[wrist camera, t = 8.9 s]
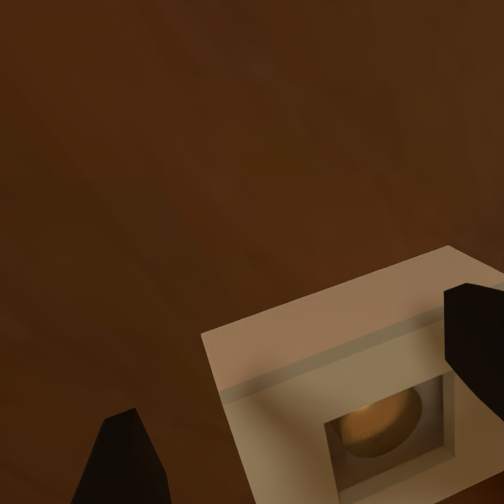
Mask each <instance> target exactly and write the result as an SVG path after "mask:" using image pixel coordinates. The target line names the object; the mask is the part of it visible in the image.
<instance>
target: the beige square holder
mask: <svg viewBox="0 0 504 504" xmlns="http://www.w3.org/2000/svg"><path fill="white" fill-rule="evenodd" d="M464 283H471V284H476V285H481V286H485V287H489V288H494V289H498V290H502V291H504V274H503V273H501V272H499V271H497V270H495V269H493V268H491V267H490V266H488V265H486V264H484V263H482V262H480V261H478V260H476V259H474V258H472V257H470V256H468V255H466V254H464V253H462V252H460V251H458V250H456V249H454V248H452V247H450V246H445V247H442V248H439V249H437V250H434V251H431V252H428V253H425V254H423V255H420V256H417V257H414V258H411V259H409V260H406V261H403V262H400V263H397V264H395V265H392V266H389V267H386V268H383V269H381V270H378V271H375V272H372V273H369V274H367V275H364V276H361V277H358V278H355V279H353V280H350V281H347V282H344V283H341V284H339V285H336V286H333V287H330V288H327V289H325V290H322V291H319V292H316V293H313V294H311V295H308V296H305V297H302V298H299V299H297V300H294V301H291V302H288V303H286V304H283V305H280V306H277V307H274V308H272V309H269V310H266V311H263V312H260V313H258V314H255V315H252V316H249V317H246V318H244V319H241V320H238V321H235V322H232V323H230V324H227V325H224V326H221V327H218V328H216V329H213V330H210V331H207V332H204V333H202V334H201V337H202V340H203V343H204V347H205V350H206V353H207V356H208V359H209V363H210V366H211V369H212V372H213V376H214V379H215V382H216V385H217V389H218V392H219V395H220V398H221V401H222V405H223V408H224V411H225V414H226V416H227V419H228V422H229V425H230V428H231V431H232V434H233V437H234V440H235V443H236V446H237V449H238V452H239V455H240V458H241V461H242V463H243V466H244V469H245V472H246V475H247V478H248V481H249V484H250V487H251V490H252V493H253V496H254V499H255V502H256V504H434V503H437V502H439V501H441V500H443V499H445V498H447V497H449V496H451V495H453V494H456V493H458V492H460V491H462V490H464V489H466V488H468V487H470V486H472V485H475V484H477V483H479V482H481V481H483V480H485V479H487V478H489V477H491V476H494V475H496V474H498V473H500V472H502V471H504V421H502V420H501V419H500V418H499V417H498V416H497V415H496V414H495V413H494V412H493V411H492V410H490V409H489V408H488V407H487V406H486V405H485V404H484V403H483V402H482V401H481V400H480V399H479V398H478V397H477V396H476V395H475V394H474V393H473V392H472V391H471V390H470V389H469V388H468V387H467V385H466V384H465V383H464V382H463V381H462V380H461V379H460V377H459V376H458V375H457V374H456V373H455V371H454V370H453V369H452V368H451V367H450V365H449V364H448V363H447V362H446V361H445V344H444V291H445V290H448V289H451V288H453V287H456V286H459V285H461V284H464ZM410 387H413V388H414V389H415V390H416V391H417V392H418V394H419V395H420V397H421V400H422V414H421V417H420V420H419V422H418V424H417V426H416V428H415V430H414V431H413V432H412V434H411V435H410V436H409V437H408V438H407V439H406V440H405V441H404V442H403V443H402V444H401V445H399V446H398V447H397V448H395V449H394V450H392V451H390V452H388V453H386V454H384V455H381V456H378V457H374V458H360V457H356V456H354V455H352V454H351V453H349V452H348V451H347V449H346V448H345V446H344V445H343V443H342V442H341V440H340V439H339V437H338V435H337V434H336V432H335V431H334V429H333V428H332V426H331V425H330V423H329V421H331V420H333V419H336V418H338V417H341V416H343V415H345V414H348V413H350V412H353V411H355V410H357V409H360V408H362V407H365V406H367V405H369V404H372V403H374V402H377V401H379V400H381V399H384V398H386V397H389V396H391V395H393V394H396V393H398V392H401V391H403V390H405V389H408V388H410Z"/></svg>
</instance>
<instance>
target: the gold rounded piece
mask: <svg viewBox="0 0 504 504" xmlns="http://www.w3.org/2000/svg"><path fill="white" fill-rule="evenodd" d="M421 414H422V400H421V397H420V395H419V394H418V392H417V391H416V390H415V389H414V388H413V387H410V388H408V389H405V390H403V391H401V392H398V393H396V394H393V395H391V396H389V397H386V398H384V399H381V400H379V401H377V402H374V403H372V404H369V405H367V406H365V407H362V408H360V409H357V410H355V411H353V412H350V413H348V414H345V415H343V416H341V417H338V418H336V419H333V420H331V421H329V423H330V425H331V426H332V428H333V429H334V431H335V432H336V434H337V435H338V437H339V439H340V440H341V442H342V443H343V445H344V446H345V448H346V449H347V451H348V452H349V453H351V454H352V455H354V456H356V457H360V458H374V457H378V456H381V455H384V454H386V453H388V452H390V451H392V450H394V449H395V448H397V447H398V446H399V445H401V444H402V443H403V442H404V441H405V440H406V439H407V438H408V437H409V436H410V435H411V434H412V432H413V431H414V430H415V428H416V426H417V424H418V422H419V420H420V417H421Z"/></svg>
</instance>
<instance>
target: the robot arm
mask: <svg viewBox="0 0 504 504" xmlns="http://www.w3.org/2000/svg"><path fill="white" fill-rule="evenodd" d="M444 344H445V361H446V362H447V363H448V364H449V365H450V367H451V368H452V369H453V370H454V371H455V373H456V374H457V375H458V376H459V377H460V379H461V380H462V381H463V382H464V383H465V384H466V385H467V387H468V388H469V389H470V390H471V391H472V392H473V393H474V394H475V395H476V396H477V397H478V398H479V399H480V400H481V401H482V402H483V403H484V404H485V405H486V406H487V407H488V408H489V409H490V410H492V411H493V412H494V413H495V414H496V415H497V416H498V417H499V418H500V419H501V420H502V421H504V291H502V290H498V289H494V288H489V287H485V286H481V285H476V284H471V283H464V284H461V285H459V286H456V287H453V288H451V289H448V290H445V291H444ZM71 504H171V498H170V492H169V487H168V481H167V476H166V472H165V470H164V468H163V466H162V464H161V462H160V460H159V458H158V455H157V453H156V451H155V449H154V447H153V445H152V443H151V441H150V438H149V436H148V434H147V432H146V430H145V428H144V426H143V423H142V421H141V419H140V417H139V415H138V413H137V411H136V409H135V408H133V409H131V410H128V411H125V412H123V413H120V414H117V415H115V416H112V417H109V418H107V419H105V420H104V422H103V424H102V425H101V428H100V431H99V433H98V436H97V439H96V441H95V444H94V447H93V449H92V452H91V454H90V457H89V460H88V462H87V465H86V467H85V470H84V472H83V475H82V477H81V480H80V482H79V485H78V487H77V490H76V492H75V494H74V497H73V499H72V501H71Z"/></svg>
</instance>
